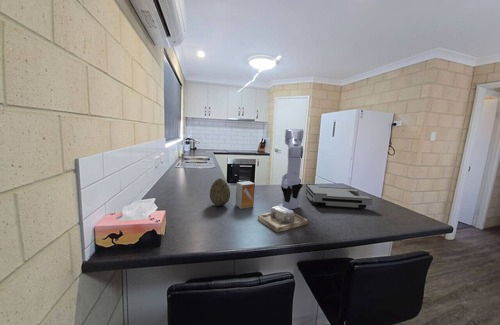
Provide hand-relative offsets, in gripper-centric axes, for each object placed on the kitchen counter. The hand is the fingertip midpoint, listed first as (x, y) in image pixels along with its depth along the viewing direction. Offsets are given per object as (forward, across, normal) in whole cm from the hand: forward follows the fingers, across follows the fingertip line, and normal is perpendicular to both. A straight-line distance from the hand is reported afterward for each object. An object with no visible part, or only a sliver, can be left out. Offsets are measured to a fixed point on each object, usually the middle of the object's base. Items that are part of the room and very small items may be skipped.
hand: (291, 199), depth 98 cm
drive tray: (+9, +6, -1) cm, 11 cm away
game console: (+10, -41, +9) cm, 43 cm away
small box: (+10, +4, -25) cm, 27 cm away
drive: (+8, +5, -1) cm, 10 cm away
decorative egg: (+10, +13, -35) cm, 38 cm away
